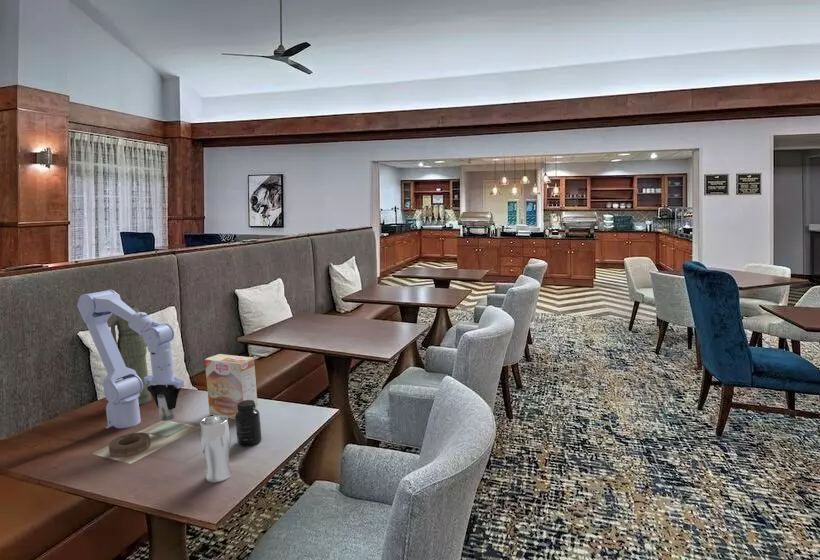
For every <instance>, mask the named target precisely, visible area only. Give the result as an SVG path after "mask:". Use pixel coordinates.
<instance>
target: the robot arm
mask: <svg viewBox="0 0 820 560" xmlns="http://www.w3.org/2000/svg"><path fill="white" fill-rule="evenodd" d="M76 306H77V309H78V310H79V313H80V315H81V318H82V321H83V322H84V323H85V324H86V327H87V329H88V331H89V334H90V336H91V339H92V341H93V343H94V346H95V347H96V351H97V352H98V356H99V357H100V360H101V362H102V364H103V366H104V369H105V371H106V373H107V374H106V376H105V378H104V379H103V380H102V383H101V384H102V388H103V394H104V398H105V399H106V400H107V401H108V402H107V404H106V407H105V411H106V412H105V414H106V419H107V420H106V421H107V426H105V428H104V429H109V428H111V427H114V428H116V429H128V428H132V427H134V426H137V425H139V424H140V423H141V421H142V420H141V412H140V406H139V401H138V397H139V396H140V392H141V391H142V390H143V382H142V380H141V379H140V377H139V376H138V375H137V374H136V371H135V370H133V369H130V368H127V367H126V366H125V363H124V361H123V359H122V356H121V354H120V352H119V349H118V347H117V345H116V343H115V340H114V338H113V336H112V333H111V328H110V327H109V324H108V319H109V318H111V317H112V315H113V314H114V315H115V316H116V315H117V316H119V317H121V318H123V319H124V320H126V321H128V325H129V327H130V328H131V329H132V330H134V331H135V332H137V333H138V334H140V335H141V336H143V339H144V342H145V343H146V345H147V347H146V348H147V351H148V353H149V355H150V356H149V357H150V364H151V372H152V374H151V375H150V374H149V375H148V376H146V377H144V381H145V383H146V384H147V383H150V385H151V386H149V387H147V390H148V391H149V392H150V393H151V397H152V399H153V400H154V402H155V405H156V407H157V408H158V409H159V406H158V398H157V394H158V393H159V392H163V393H164V395H165V398H166V402H167V407H168V410H171V409H174V410H175V408H176V406H177V401H178V397H179V394H180V391H181V389H182V388H184V387H185V381H184V380H183V379H180V378H178V377H176V376H175V374H174V366H173V364H174V363H173V354H172V346H171V345H172V344H171V342H172V341H173V340H174V337H175V332H174V329H173V327H172V326H171V325H170V324H169V323H167V322H166V323H161V322H158V321H157V320H155V319H154V318H152V317H150V316H149V315H148V314H147V313H146V312H144V311H143V312H142V311H140V312H138V313H136V312H135V311H134V310H133V309H131V308H130V307H129V306H130V305H128V304H127V303H125V302H124V301H123V300H122V298H121V296H120V293H117V292H116V291H115V290H113V289H107V290H103V291H97V292H92V293H84V294H81V295H80V296H79V298H78V302H77V305H76ZM123 378H124V379H123Z"/></svg>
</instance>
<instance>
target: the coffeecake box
mask: <svg viewBox="0 0 820 560" xmlns="http://www.w3.org/2000/svg"><path fill="white" fill-rule="evenodd" d="M204 366H205V376H206V388H207V390H206V391H207V399H208V401H207V402H208V409H209V410H208V411H209V416H210V415H213V416H215V415H224V416H227V417H228V419H229V418H230V419H229V420H235V415H236V413H237V412H239V411H238V406H237V405H238V403H239V402H241V401H245V400H253V401H254V402H255V409H257V410H258V411H259V406H258V394H257V380H256V367H255V357H252V356H251V357H250V356H242V355H240V356H239V355H231V354H224V353H218V354H216V355H211V356H209V357H207V358H205V359H204Z"/></svg>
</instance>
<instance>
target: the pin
mask: <svg viewBox="0 0 820 560" xmlns="http://www.w3.org/2000/svg"><path fill="white" fill-rule="evenodd" d="M157 398H158V406H159V408H158V413H159V420H160V421H167V420H168V421H172V419H174V418H175V408H174V409H171V410H168V407H167V402H166V398H165V395H164V393H163V392H159V393H158V394H157Z"/></svg>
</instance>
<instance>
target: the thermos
mask: <svg viewBox="0 0 820 560" xmlns="http://www.w3.org/2000/svg"><path fill="white" fill-rule="evenodd" d="M128 306H129V307H130V308H131V309H133V310H134V311H135V312H136V313H138V312H141V311H140V310H139V307H138V306H135V305H128ZM115 320H116V321H114V322H112V323H111V325H110V331H111V333H112V336H113V338H114V340H115V343H116V345H117V347H118V349H119V352H120V354H121V356H122V359H123V361H124V363H125V366H126V367H127V368H130V369H133V370H135V371H136V374H137V375H138V376H139V377H140V379H141V380H142V382H143V390H142V391H141V392H140V396H139V397H138V401H139V405H140V406H144V405H146V404H148V403H151V402H152V394H151V393H150V392H149V391H148V390H147V387H149V386H151V384H150V383H147V384H146V383H145V381H144V377H146V376H149V375H148V367H147V366H148V365H147V356H146V355H147V351H148V349H147V348H148V347H147V345H146V343H145V342H144V339H143V336H141V335H140V334H138V333H137V332H135V331H134V330H132V329H131V328H130V327H129V325H128V321H126V320H124V319H123V318H121V317H119V316H117V315H116V314H115ZM116 327H117V333H118V334H117V333H116ZM117 336H118V338H117ZM122 379H124V378H122ZM143 404H144V405H143Z"/></svg>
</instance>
